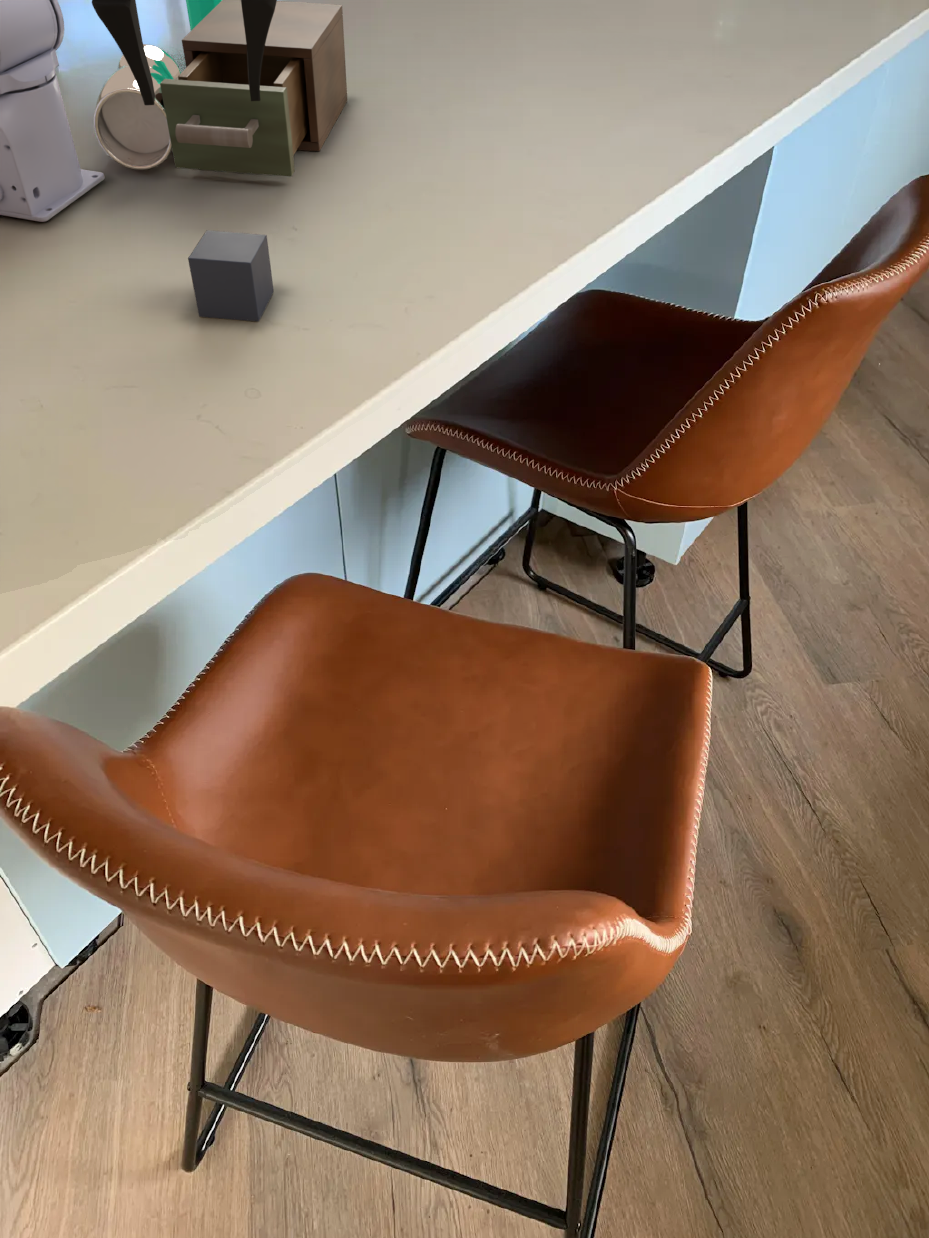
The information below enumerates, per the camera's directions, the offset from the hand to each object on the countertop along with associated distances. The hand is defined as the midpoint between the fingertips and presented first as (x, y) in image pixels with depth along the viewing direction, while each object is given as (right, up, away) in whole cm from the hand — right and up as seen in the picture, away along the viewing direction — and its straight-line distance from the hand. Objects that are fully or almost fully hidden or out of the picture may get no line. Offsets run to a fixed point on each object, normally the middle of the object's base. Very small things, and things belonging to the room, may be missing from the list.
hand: (202, 98), depth 71 cm
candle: (-7, +22, +34) cm, 41 cm away
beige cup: (-11, +14, +22) cm, 28 cm away
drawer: (0, +3, +15) cm, 15 cm away
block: (+3, -16, -1) cm, 16 cm away
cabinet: (+1, +10, +23) cm, 25 cm away
